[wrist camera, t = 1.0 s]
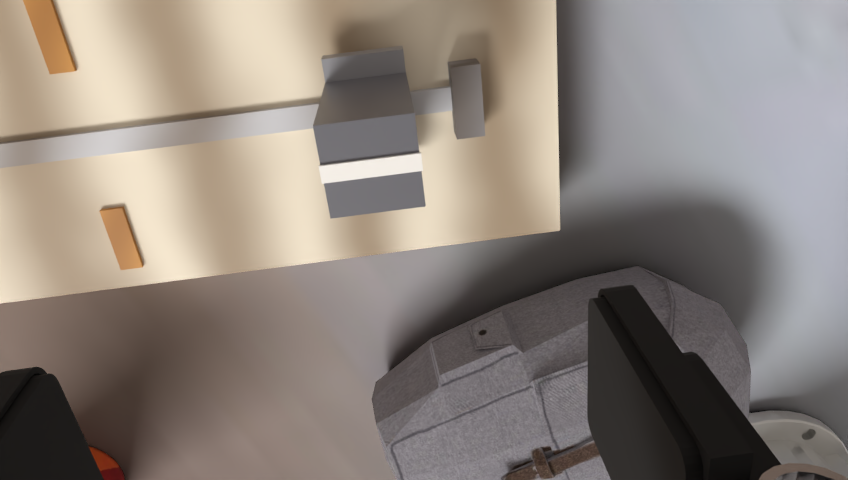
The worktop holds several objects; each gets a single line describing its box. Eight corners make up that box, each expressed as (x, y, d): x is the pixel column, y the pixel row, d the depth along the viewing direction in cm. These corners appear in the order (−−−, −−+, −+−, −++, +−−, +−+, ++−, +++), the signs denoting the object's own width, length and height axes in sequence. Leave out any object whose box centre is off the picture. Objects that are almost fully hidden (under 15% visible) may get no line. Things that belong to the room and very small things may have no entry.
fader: (403, 45, 26) (413, 85, 20) (417, 163, 28) (430, 231, 22) (321, 55, 26) (305, 98, 20) (341, 172, 28) (333, 244, 22)
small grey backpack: (446, 510, 43) (740, 401, 41) (461, 633, 36) (822, 509, 33) (343, 339, 37) (685, 199, 34) (335, 446, 29) (772, 276, 27)
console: (536, -99, 28) (562, -101, 24) (545, 205, 34) (567, 241, 30) (-181, -11, 27) (-270, 1, 23) (-38, 281, 33) (-91, 327, 30)
